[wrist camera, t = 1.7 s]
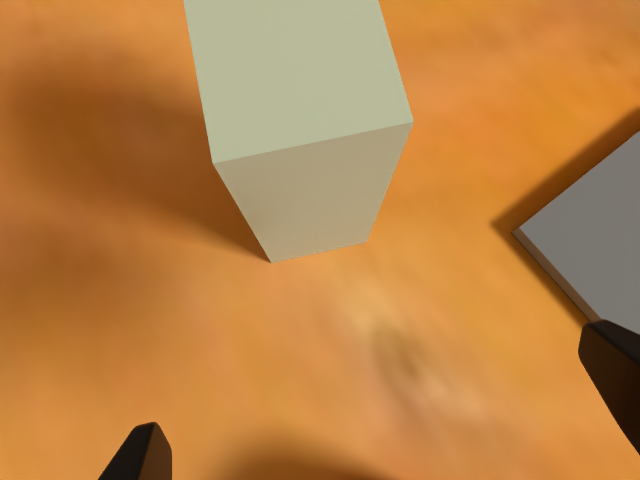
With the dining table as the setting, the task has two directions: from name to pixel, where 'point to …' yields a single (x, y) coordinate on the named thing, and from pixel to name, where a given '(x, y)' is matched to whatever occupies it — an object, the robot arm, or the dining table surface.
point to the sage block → (300, 115)
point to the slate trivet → (595, 238)
